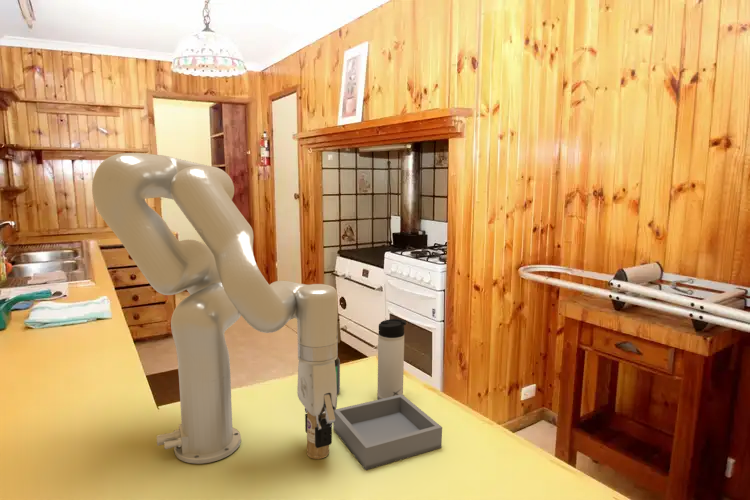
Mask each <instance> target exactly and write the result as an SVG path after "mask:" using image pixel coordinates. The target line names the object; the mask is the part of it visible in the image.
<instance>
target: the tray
mask: <svg viewBox="0 0 750 500" xmlns="http://www.w3.org/2000/svg"><path fill="white" fill-rule="evenodd" d="M334 416H335V421H334V422H333V423H332V424H333V425H332V431H334V432H335V433H336V435H337V436H338V438H339V439H340V440H341V441H342V442H343V443H344V445H345V446H346V447H347V449H348V450H349V452H350V453H352V455H353V456H354V458H355V459H356V460H357V461H358V463H359V464H360V465H361V466H362V467H363V469H364V470H365V471H369V470H372V469H375V468H378V467H379V468H380V467H382V466H386V465H388V464H391V463H394V462H398V461H401V460H406V459H408V458H412V457H415V456H418V455H422V454H426V453H429V452H432V451H436V450H438V449H439V450H440V449H442V444H443V441H442V440H443V426H442V425H440V424H439V423H438V422H437V421H435V420H434V419H433V418H432V417H431V416H429V415H428V414H427V413H426V412H424V411H423V410H422V409H420V407H418V406H417V405H416V404H415V403H413V401H411V400H409V399H408V398H407V397H406V396H405V395H404V394H403V395H402V394H401V395H397V396H392V397H388V398H384V399H379V400H378V399H375V400H371V401H366V402H361V403H357V404H353V405H350V406H345V407H340V408H336V410H335V411H334Z"/></svg>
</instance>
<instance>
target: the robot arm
mask: <svg viewBox="0 0 750 500" xmlns="http://www.w3.org/2000/svg"><path fill="white" fill-rule="evenodd" d="M91 185H92V187H91V188H92V190H91V191H92V200H93V203H94V206H95V207H96V210H97V212H98V214H99V216H100V217H101V219H102V220H103V221H104V222H105V224H106V225H107V227H109V229H110V230H111V231H112V232H113V233H114V235H115V236H116V237H117V239H118V240H119V242H120V243H121V244H122V245H123V247H124V248H125V250H126V251H127V253H128V255H129V256H130V258H131V259H132V261H133V262H134V264H135V266H137V268H138V269H139V271H140V273H141V274H142V275H143V276H144V278H145V280H146V281H147V282H148V284H149V285H150V286H151V287H152V288H153V290H155V291H156V293H159V294H161V295H163V296H172V295H176V294H177V295H178V294H179V293H182V292H184V291H187V292H188V293H189V295H188V296H186V297H184V299H182V300H180V302H179V303H177V305H176V307H175V308H174V310H173V312H172V315H171V320H170V328H171V334H172V338H173V341H174V345H175V350H176V356H177V371H178V383H179V399H180V400H179V402H180V417H181V418H180V419H181V423H179V424H178V429H174V430H173V432H169V433H163V434H159V435H158V434H157V435H156V444H157V445H156V446H157V447H159V446H164V450H169V449H172V448H174V450H173V451H174V454H175V457H176V458H177V459H179V460H180V461H182V462H185V463H187V464H194V465H195V464H198V465H199V464H201V465H202V464H208V463H213V462H216V461H220V460H222V459H225V458H227V457H229V456H230V455H232V454H233V453H234V452H235V451H237V449H239V447H240V445H241V441H242V440H241V439H242V438H241V437H242V435H241V433H240V431H239V430H238V429H236V428H234V427H233V408H232V407H233V406H232V403H233V402H232V383H231V381H232V380H231V363H230V359H231V358H230V353H229V352H230V351H229V348H228V345H227V341H226V338H225V337H226V336H225V333H226V331H227V330H228V329H229V328H230V327H231V326H233V325H234V324H235V323H236V322H237V321H239V319H240V318H241V317H242V318H243V319H244V321H245V322H246V323H247V324H248V325H250V327H252V329H254V330H255V331H258V332H260V333H264V334H271V333H275V332H278V331H279V330H281V329H282V328H283V327H285V326H286V324H288V322H289V321H290V320H293V319H296V321H297V324H296V325H297V326H296V327H297V328H296V329H297V333H296V334H297V360H298V365H297V366H298V367H297V391H296V393H297V397H298V400H299V401H300V403H301V404H302V405H303V407H304V419H305V420H304V421H305V422H304V423H305V425H304V426H305V427H304V429H305V433H306V434H307V411H308V412H309V413H310V414H311V415H312V416H316V423H317V427H315V446H316V448H320V447H323V446H327V445H329V446H331V445H332V443H333V436H332V435H333V434H332V433H333V432H332V431H333V422H334V421H335V416H334V411H335V410H336V409H337V407H338V406H337V405H338V395H337V383H336V369H335V361H334V360H336V359H337V357H338V354H339V353H338V335H339V334H338V308H339V307H338V302H339V301H338V291H337V290H336V288H335V287H334V286H332V285H329V284H324V283H312V284H305V283H299V282H295V281H289V280H276V281H273V282H271V283H268V281H267V280H266V278H265V276H264V275H263V274H262V272H261V270H260V269H259V267H258V264H257V262H256V258H255V255H254V230H253V228H252V226H251V225H250V223H249V222H248V221H247V219H246V218H245V217H244V215H243V214H242V213H241V211H240V210H239V209H238V206H237V205H236V204H235V203H234V201H233V198H234V196H235V195H234V194H235V186H234V182H233V180H232V178H231V177H230V175H229V174H228V173H227V171H225V170H223V169H221V168H219V167H216V166H211V165H207V164H201V163H198V162H194V161H193V162H192V161H189V160H185V159H181V158H177V157H173V156H167V155H163V154H151V153H142V152H141V153H140V152H123V153H117V154H114V155H111V156H108V157H107V158H105V159H104V160H103V161H102V162H101V163H100V164H99V166H98V167H97V168H96V170H95V171H94V175H93V177H92V184H91ZM155 198H163V199H167V200H168V199H169V200H173V201H174V202H175V204H176V205H177V207H178V208H179V209H180V211H181V213H183V215H184V216H185V218H186V219H187V220H188V221H189V223H190V224H191V226H192V227H193V229H194V230H195V232H197V234H198V236H199V237H200V238H201V239H202V241H203V242H204V243H203V242H201V241H198V240H195V239H183V240H179V239H178V238H177V237H176V236H175V234H174V233H173V232H172V230H171V229H170V227H169V226H168V224H167V222H166V220H164V218H163V217H162V216H161V215H160V214H159V213H158V212H157V211H156V210H154V209H153V207H151V206H149V204H148V203H147V202H146V199H155ZM338 358H339V357H338ZM322 408H324V409H325V410H322ZM321 410H322V411H321ZM325 414H326V417H325V418H324V419H322V420H321V416H320V415H325Z"/></svg>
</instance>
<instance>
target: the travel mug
mask: <svg viewBox="0 0 750 500" xmlns="http://www.w3.org/2000/svg"><path fill="white" fill-rule="evenodd" d="M406 325H407V320H405V319H400V318H399V319H398V318H391V319H386V320H383V321H381V322H380V323H379V324H378V334H377V335H378V336H377V337H378V338H377V400H379V399H384V398H388V397H392V396H397V395H401V394H402V395H404V370H405V369H404V364H405V362H404V361H405V326H406Z"/></svg>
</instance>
